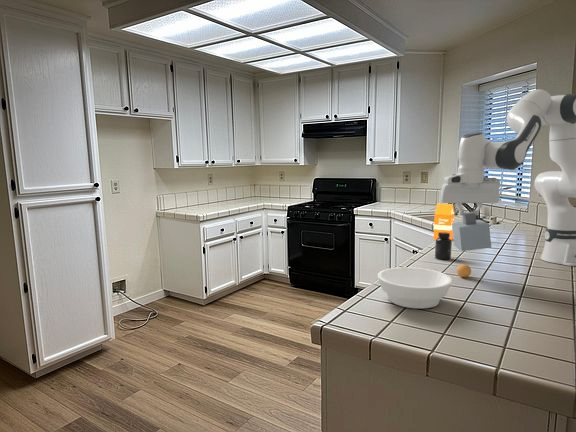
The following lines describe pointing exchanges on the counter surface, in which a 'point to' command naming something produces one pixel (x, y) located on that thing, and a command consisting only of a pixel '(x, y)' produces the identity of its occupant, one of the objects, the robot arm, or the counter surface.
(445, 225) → the orange juice
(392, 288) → the bowl
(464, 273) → the ball
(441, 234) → the supplement bottle
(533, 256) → the counter surface
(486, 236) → the grey block with knob
